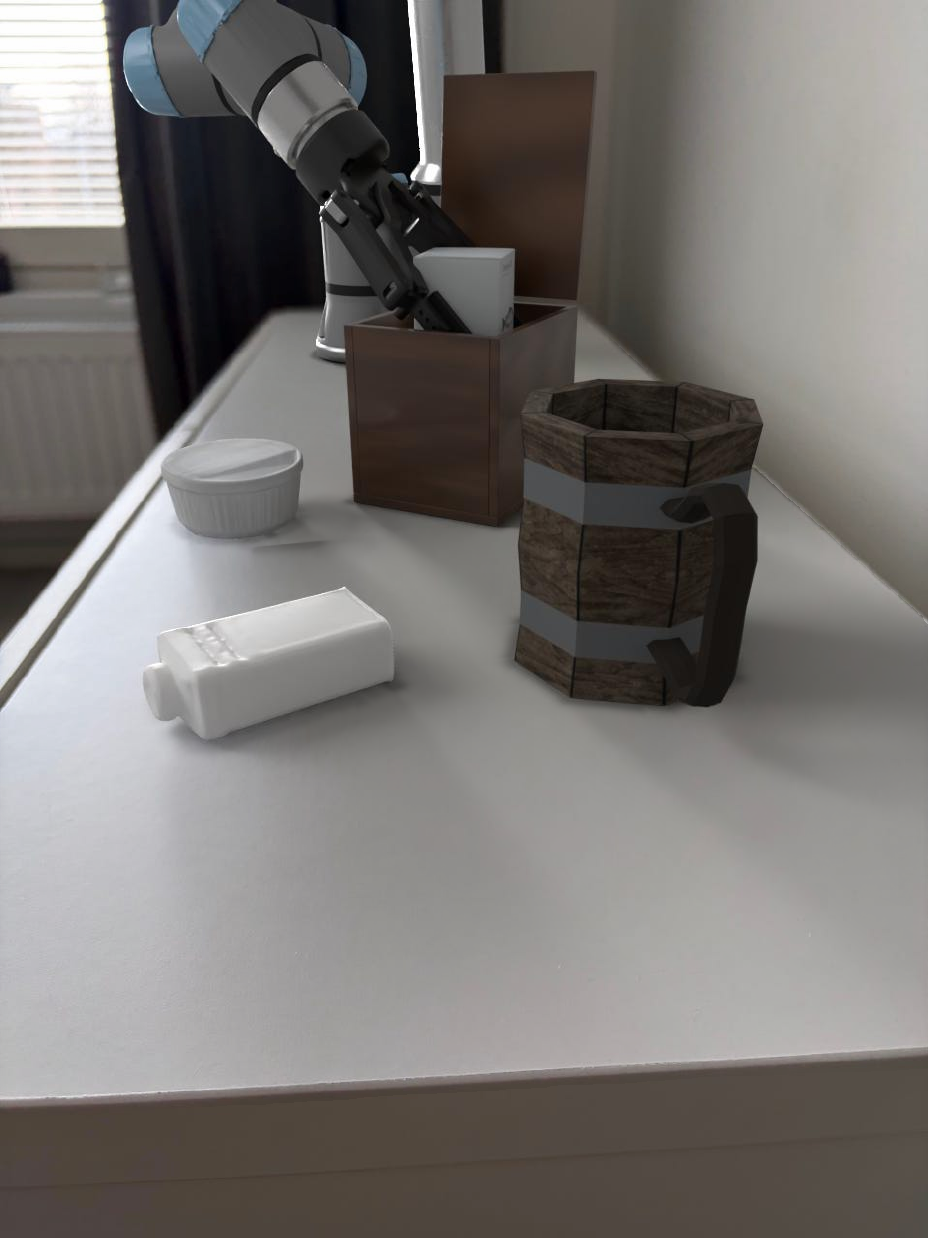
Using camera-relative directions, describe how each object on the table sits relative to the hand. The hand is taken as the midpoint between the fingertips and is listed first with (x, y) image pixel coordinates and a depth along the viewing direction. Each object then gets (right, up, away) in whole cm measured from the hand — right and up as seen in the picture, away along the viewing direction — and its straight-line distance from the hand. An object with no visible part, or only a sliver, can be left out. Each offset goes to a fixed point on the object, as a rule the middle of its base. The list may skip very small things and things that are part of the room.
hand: (500, 355), depth 80 cm
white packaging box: (-3, -4, +3) cm, 6 cm away
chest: (-3, -10, +7) cm, 12 cm away
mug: (+7, -25, -24) cm, 35 cm away
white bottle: (-14, -26, -25) cm, 39 cm away
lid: (+1, +15, +3) cm, 15 cm away
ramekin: (-22, -14, -1) cm, 26 cm away
